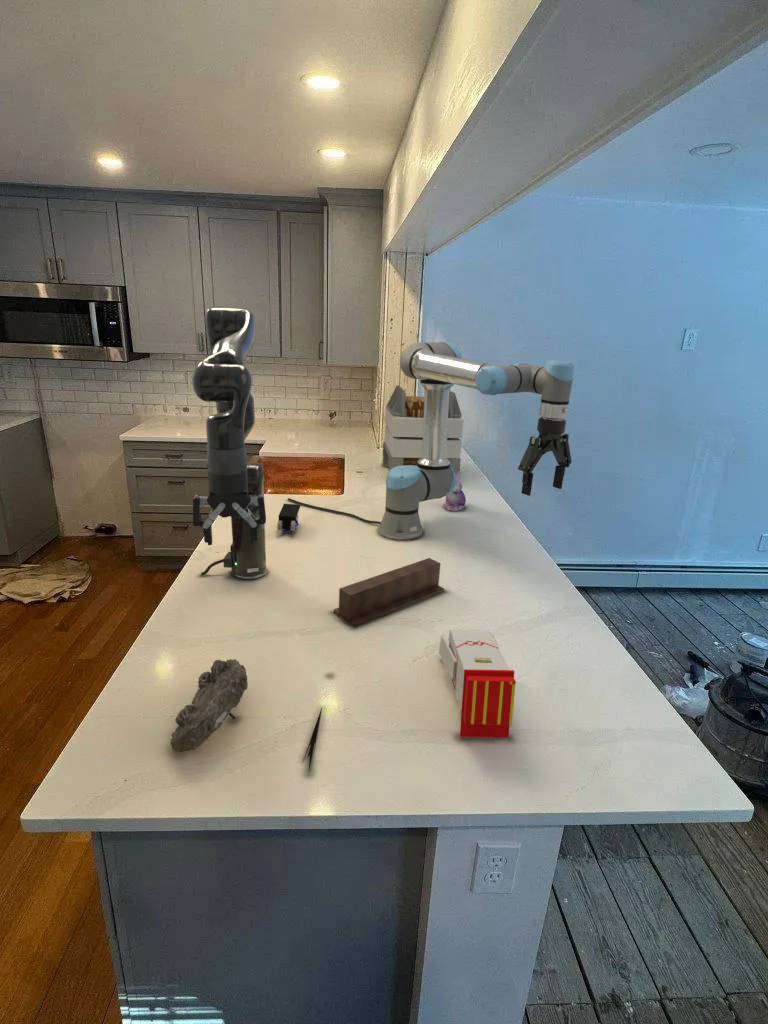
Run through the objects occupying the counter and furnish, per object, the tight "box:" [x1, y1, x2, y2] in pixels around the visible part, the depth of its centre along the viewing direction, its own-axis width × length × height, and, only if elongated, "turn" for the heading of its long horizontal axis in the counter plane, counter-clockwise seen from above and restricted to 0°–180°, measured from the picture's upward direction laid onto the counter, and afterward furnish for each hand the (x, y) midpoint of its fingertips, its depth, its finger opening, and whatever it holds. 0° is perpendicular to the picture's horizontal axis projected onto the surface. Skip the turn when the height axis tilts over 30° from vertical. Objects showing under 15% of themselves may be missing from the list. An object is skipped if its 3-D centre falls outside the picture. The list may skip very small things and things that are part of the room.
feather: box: [301, 673, 332, 771], centre depth 108 cm, size 2×28×2 cm
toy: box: [438, 628, 517, 738], centre depth 117 cm, size 12×13×30 cm
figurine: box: [444, 471, 467, 512], centre depth 226 cm, size 9×10×15 cm
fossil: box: [170, 658, 249, 753], centre depth 106 cm, size 22×10×15 cm
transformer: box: [381, 384, 464, 474], centre depth 268 cm, size 34×33×41 cm
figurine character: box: [276, 503, 301, 536], centre depth 198 cm, size 7×8×15 cm
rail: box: [333, 557, 445, 628], centre depth 152 cm, size 32×9×8 cm, turn 131°
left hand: (231, 543), depth 117 cm, fingers open, 8 cm apart
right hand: (541, 491), depth 165 cm, fingers open, 13 cm apart
